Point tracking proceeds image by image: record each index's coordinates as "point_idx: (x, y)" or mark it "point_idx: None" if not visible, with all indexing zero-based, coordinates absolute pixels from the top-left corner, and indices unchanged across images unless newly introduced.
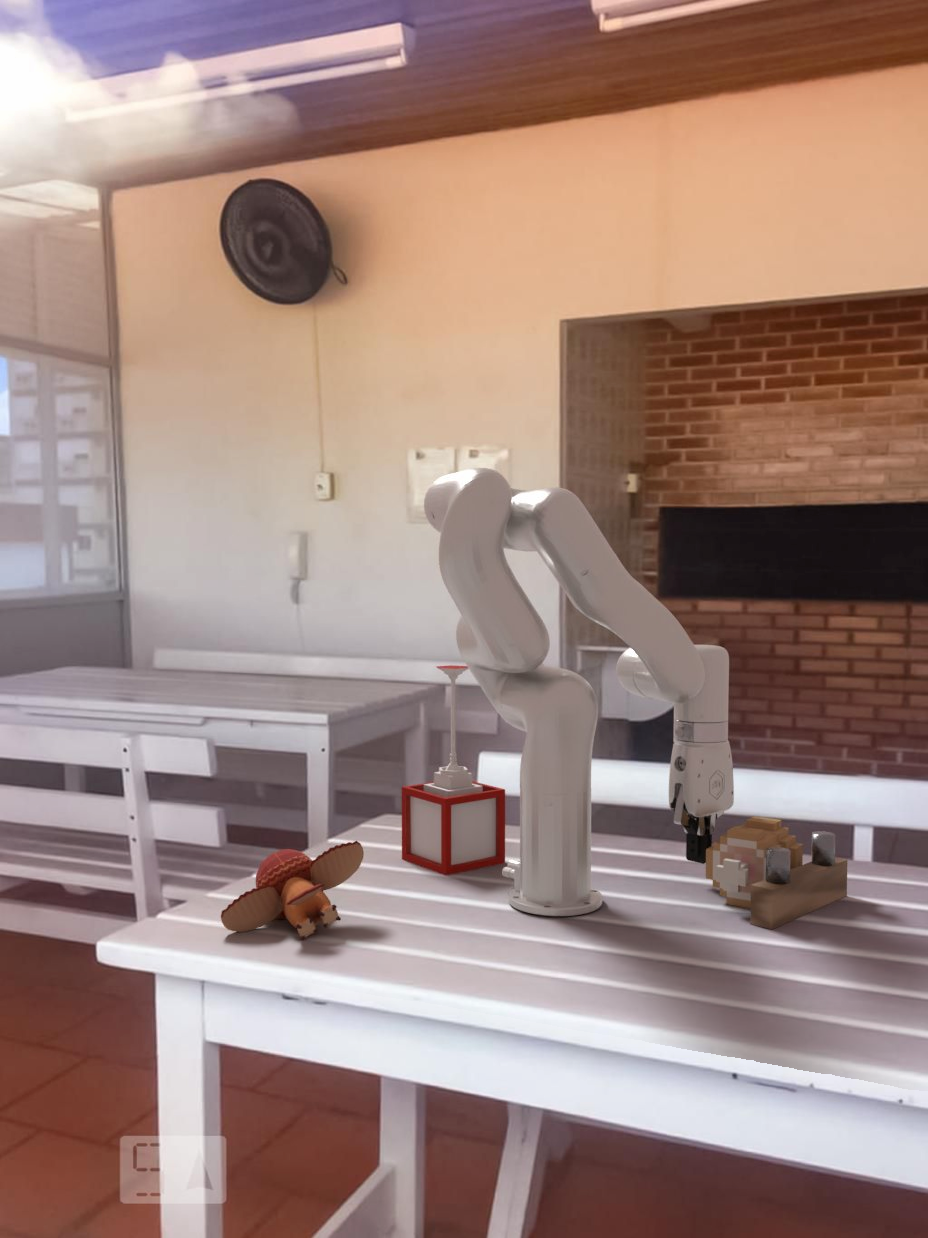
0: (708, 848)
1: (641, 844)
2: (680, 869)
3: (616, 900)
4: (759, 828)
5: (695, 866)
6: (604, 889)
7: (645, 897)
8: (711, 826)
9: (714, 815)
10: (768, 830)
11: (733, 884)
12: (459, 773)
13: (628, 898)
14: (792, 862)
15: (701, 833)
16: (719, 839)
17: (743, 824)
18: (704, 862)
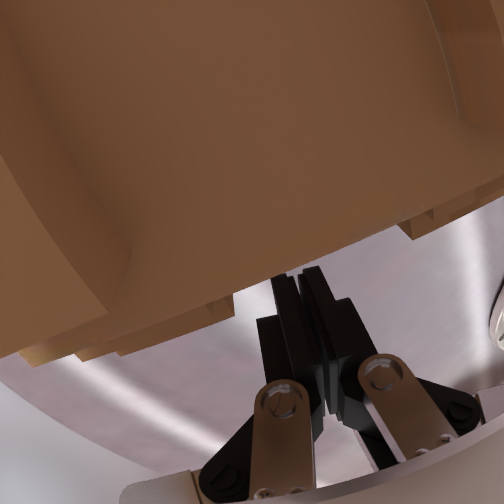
0: (494, 194)
1: (171, 462)
2: (211, 368)
3: (500, 251)
4: (37, 98)
5: (158, 369)
6: (458, 315)
7: (462, 238)
8: (279, 418)
9: (267, 482)
10: (3, 10)
11: None
12: None
13: (483, 250)
14: None
15: (378, 370)
16: (466, 205)
17: (84, 343)
18: (319, 267)
